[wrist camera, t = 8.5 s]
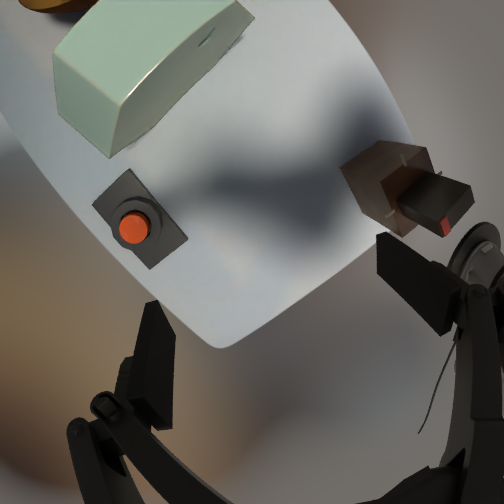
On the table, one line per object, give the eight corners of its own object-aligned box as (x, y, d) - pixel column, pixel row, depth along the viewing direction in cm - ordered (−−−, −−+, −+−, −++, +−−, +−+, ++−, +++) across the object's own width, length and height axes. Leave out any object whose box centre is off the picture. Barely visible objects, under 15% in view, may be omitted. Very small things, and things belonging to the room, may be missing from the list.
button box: (188, 238, 37) (187, 245, 34) (150, 267, 37) (147, 276, 35) (129, 168, 32) (124, 170, 29) (93, 203, 32) (86, 208, 30)
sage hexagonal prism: (157, 58, 30) (226, -59, 12) (196, 90, 33) (289, -16, 15) (61, 137, 24) (52, -7, 6) (107, 177, 27) (136, 49, 9)
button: (155, 227, 33) (153, 231, 32) (135, 244, 34) (132, 249, 32) (136, 205, 32) (133, 208, 30) (116, 223, 32) (113, 227, 31)
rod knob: (427, 171, 27) (472, 186, 21) (433, 185, 28) (476, 203, 21) (395, 201, 28) (438, 222, 21) (402, 215, 29) (444, 239, 22)
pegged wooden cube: (406, 187, 39) (451, 205, 29) (359, 223, 40) (399, 250, 31) (382, 129, 34) (429, 135, 25) (329, 165, 35) (368, 178, 26)
